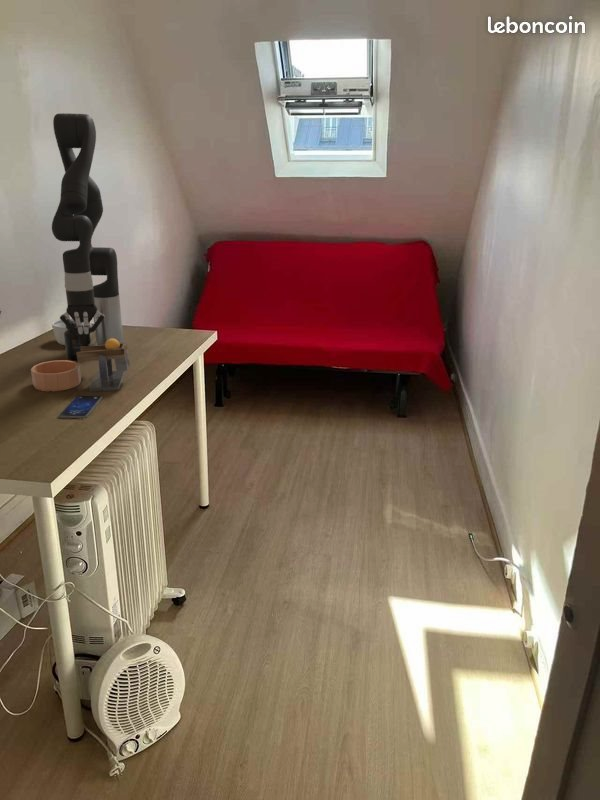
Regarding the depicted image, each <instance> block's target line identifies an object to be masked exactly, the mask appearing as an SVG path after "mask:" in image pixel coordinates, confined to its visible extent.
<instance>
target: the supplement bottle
mask: <svg viewBox="0 0 600 800" xmlns="http://www.w3.org/2000/svg"><path fill="white" fill-rule="evenodd" d="M72 322H73V323H74V324H75V325H76V322H75V321H72ZM76 326H77V325H76ZM66 329H67V330H66V331H65V332H64V341H65V345H64V347H65V353H66V359H68V361H78V360H77V354H76V353H77V352H81V350H80V347H81V346H83V344H81V343H80V336H79V333H76V332H72V331H71V330H70V329H69V328H68V327H67V325H66Z"/></svg>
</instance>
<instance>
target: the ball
mask: <svg viewBox="0 0 600 800" xmlns="http://www.w3.org/2000/svg"><path fill="white" fill-rule="evenodd" d="M105 347H106V349H119V347H120V344H119V342H118V340H116V339H113V338H111V339H108V340H107V341H106V343H105Z"/></svg>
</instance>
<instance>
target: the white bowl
mask: <svg viewBox="0 0 600 800" xmlns="http://www.w3.org/2000/svg"><path fill="white" fill-rule="evenodd" d="M70 320H71V321H74V320H73V319H72V318H71V317H70ZM83 326H84V322H83ZM92 326H93V325H92V320H91V321H90V327H92ZM51 327H52V330H53V334H54V337H55V340H56V343H58V344H59V345H61V346H65V341H64V332H65V331H66V330H67V329H66V324H65V323H64V322H63V321H62V320H61V319H58V320H55V321H53V322H52V323H51ZM90 337H92V332H91V333H90Z"/></svg>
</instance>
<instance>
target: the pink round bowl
mask: <svg viewBox="0 0 600 800" xmlns="http://www.w3.org/2000/svg"><path fill="white" fill-rule="evenodd" d="M30 375H31V379H32V380H31V381H32V385H33V387H34V389H35V390H38V391H40V390H41V391H42V392H49V391H52V392H62V390H63V391H67V390H70V389H73V388H75V387H78V386H79V385H80V384H81V380H82V375H81V368H80V364H79V362H76V361H75V360H69V359H68V360H67V359H65V360H62V359H61V360H60V359H59V360H49V361H43V362H40V363H38V364H35V365H33V367H31V369H30Z"/></svg>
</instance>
